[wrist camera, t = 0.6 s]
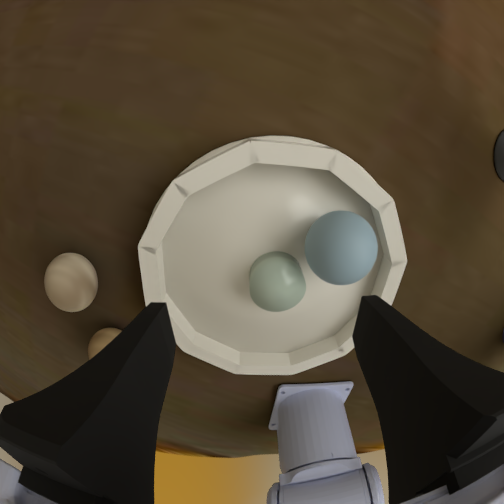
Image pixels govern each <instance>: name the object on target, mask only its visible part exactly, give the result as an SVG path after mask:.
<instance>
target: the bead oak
mask: <svg viewBox="0 0 504 504" xmlns="http://www.w3.org/2000/svg"><path fill="white" fill-rule="evenodd" d="M121 332H122V330H120V329H117V328H104V329H101V330H99V331H98V332H96V333H95V334H94V335H93V336H92V338H91V340H90V342H89V346H88V356H89V359H91V358H93V357H94V356H95V355H96V354H97V353H99V352H100V351H101V350H102V349H103V348H104V347H105V346H106V345H108V344H109V343H110V342H111V341H112V340H113V339H114V338H115V337H116V336H117V335H118V334H119V333H121Z"/></svg>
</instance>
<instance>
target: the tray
mask: <svg viewBox="0 0 504 504" xmlns="http://www.w3.org/2000/svg"><path fill="white" fill-rule="evenodd" d="M338 210H343V211H350V212H353V213H356V214H358V215H360V216H361V217H362V218H364V219H365V220H366V221H367V222H368V223H369V224H370V226H371V227H372V229H373V230H374V233H375V235H376V238H377V244H378V252H377V258H376V261H375V263H374V265H373V267H372V269H371V270H370V272H369V273H368V274H367V275H366V276H365V277H364V278H362V279H361V280H359V281H357V282H355V283H353V284H349V285H334V284H330V283H327V282H325V281H323V280H322V279H320V278H319V277H318V276H317V275H316V274H315V273H314V272H313V271H312V270H311V268H310V266H309V264H308V263H307V260H306V256H305V239H306V236H307V233H308V231H309V229H310V227H311V226H312V224H313V223H314V222H315V221H316V220H317V219H318V218H320V217H321V216H323V215H324V214H326V213H329V212H332V211H338ZM138 254H139V262H140V270H141V278H142V285H143V291H144V298H145V304H146V306H147V305H149V304H150V303H151V302H166V303H167V308H168V312H169V316H170V321H171V325H172V329H173V333H174V337H175V341H176V344H177V345H178V346H179V347H180V348H181V350H182V351H183V352H186V353H188V354H190V355H192V356H194V357H196V358H199V359H201V360H203V361H205V362H208V363H210V364H212V365H215V366H217V367H219V368H222V369H224V370H227V371H229V372H232V373H234V374H235V373H236V374H250V375H293V374H296V373H299V372H302V371H305V370H308V369H310V368H313V367H316V366H319V365H321V364H324V363H327V362H329V361H332V360H334V359H337V358H339V357H342V356H344V355H345V354H347V353H348V352H350V351H351V350H352V349H353V348H354V342H353V338H352V335H353V331H354V327H355V323H356V319H357V315H358V310H359V306H360V302H361V297H362V296H369V295H377V296H379V297H380V298H381V299H383V300H384V301H385V302H387V303H388V304H389V305H392V303H393V300H394V298H395V295H396V292H397V290H398V287H399V284H400V281H401V278H402V275H403V273H404V270H405V267H406V264H407V256H406V251H405V246H404V241H403V236H402V232H401V227H400V223H399V218H398V214H397V210H396V206H395V202H394V200H393V198H392V197H391V196H390V195H389V194H387V193H386V192H385V191H384V190H383V189H382V188H381V187H380V186H379V185H378V184H377V183H376V181H375V180H374V179H373V178H372V177H371V176H370V175H369V174H368V173H367V172H366V171H365V170H364V169H363V168H362V167H361V166H360V165H359V164H357V163H356V162H355V161H353V160H352V159H351V158H349V157H348V156H346V155H344V154H342V153H341V152H339V151H338V150H336V149H334V148H331V147H329V146H326V145H324V144H321V143H318V142H315V141H312V140H309V139H304V138H298V137H293V136H277V135H268V136H259V137H250V138H246V139H242V140H238V141H235V142H231V143H228V144H226V145H224V146H221V147H219V148H217V149H214V150H212V151H210V152H209V153H207V154H205V155H204V156H202V157H200V158H199V159H197V160H196V161H194V162H193V163H192V164H191V165H190V166H188V167H187V168H186V169H185V170H184V171H182V172H181V173H180V174H179V175H178V176H177V177H176V178H175V179H174V180H173V181H172V182H171V184H170V185H169V186H168V188H167V189H166V190H165V192H164V193H163V195H162V196H161V198H160V199H159V201H158V202H157V204H156V206H155V208H154V210H153V213H152V215H151V217H150V220H149V223H148V226H147V228H146V230H145V232H144V234H143V236H142V238H141V240H140V242H139V244H138Z"/></svg>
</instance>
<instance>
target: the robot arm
mask: <svg viewBox="0 0 504 504" xmlns="http://www.w3.org/2000/svg"><path fill="white" fill-rule="evenodd" d="M352 338H353V342H354V347H355V351H356V354H357V358H358V361H359V364H360V366H361V369H362V371H363V374H364V377H365V379H366V382H367V384H368V387H369V389H370V392H371V395H372V397H373V400H374V403H375V406H376V409H377V412H378V416H379V421H380V425H381V430H382V435H383V440H384V446H385V452H386V461H387V469H388V486H389V504H504V373H503V372H500V371H497V370H494V369H492V368H489V367H486V366H484V365H482V364H479V363H477V362H475V361H473V360H471V359H469V358H467V357H465V356H463V355H461V354H459V353H457V352H455V351H454V350H452V349H450V348H449V347H447V346H445V345H444V344H442V343H440V342H439V341H437V340H436V339H434V338H433V337H432V336H430V335H429V334H427V333H426V332H424V331H423V330H422V329H420V328H419V327H418V326H416V325H415V324H414V323H412V322H411V321H410V320H408V319H407V318H406V317H405V316H403V315H402V314H401V313H400V312H398V311H397V310H396V309H394V308H393V307H392V306H391V305H389V304H388V303H387V302H385V301H384V300H383V299H381V298H380V297H379V296H377V295H369V296H362V297H361V302H360V306H359V310H358V315H357V319H356V323H355V327H354V331H353V335H352ZM175 347H176V341H175V337H174V333H173V329H172V325H171V321H170V316H169V312H168V308H167V303H166V302H151V303H150V304H149V305H147V306H146V307H145V308H144V309H143V310H142V311H141V312H140V313H139V314H138V315H137V316H136V318H135V319H134V320H133V321H132V322H131V323H130V324H129V325H128V326H127V327H126V328H125V329H124V330H123V331H122V332H121V333H119V334H118V335H117V336H116V337H115V338H114V339H113V340H112V341H111V342H110V343H109V344H108V345H106V346H105V347H104V348H103V349H102V350H101V351H100V352H99V353H97V354H96V355H95V356H94V357H93V358H91V359H90V360H89V361H88V362H86V363H85V364H84V365H82V366H81V367H80V368H78V369H77V370H75V371H74V372H72V373H71V374H69V375H67V376H66V377H64V378H63V379H61V380H60V381H58V382H56V383H55V384H53V385H51V386H49V387H47V388H46V389H44V390H42V391H40V392H38V393H36V394H33V395H31V396H29V397H27V398H24V399H22V400H19V401H16V402H14V403H11V404H9V405H5V406H4V408H3V410H2V412H1V414H0V447H1V448H2V449H4V450H5V451H6V452H7V453H8V454H9V455H11V456H12V457H13V458H14V459H15V460H17V461H18V462H19V463H20V464H22V465H23V469H22V471H19V470H18V469H16V468H15V467H13V466H12V465H10V464H8V463H6V462H5V461H3V460H1V459H0V504H154V464H155V451H156V440H157V431H158V423H159V418H160V413H161V409H162V405H163V402H164V398H165V394H166V390H167V386H168V383H169V379H170V375H171V371H172V367H173V361H174V354H175ZM352 387H353V382H351V381H347V382H334V383H316V384H283V385H280V386H279V387H278V390H277V395H276V399H275V403H274V407H273V411H272V414H271V418H270V422H269V426H268V427H269V429H270V430H277V437H278V449H279V461H280V469H281V471H282V474H279V481H280V482H278V483H274V484H273V485H272V487H271V488H270V489H269V491H268V494H267V504H385V503H384V495H383V489H382V485H381V481H380V478H379V475H378V472H377V470H376V468H375V467H374V466H372V465H370V464H369V463H366V464H363V465H362V464H361V460H360V457H357V455H356V450H355V446H354V442H353V439H352V435H351V431H350V427H349V423H348V419H347V415H346V412H345V408H344V402H345V400H346V399H347V397H348V395H349V393H350V391H351V389H352Z"/></svg>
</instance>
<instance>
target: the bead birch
mask: <svg viewBox="0 0 504 504" xmlns="http://www.w3.org/2000/svg"><path fill="white" fill-rule="evenodd" d="M44 285H45V290H46V293H47V295H48V297H49V299H50V301H51V302H52V303H53V304H54V305H55V306H56V307H58V308H59V309H61V310H64V311H67V312H77V311H80V310H83V309H85V308H86V307H87V306H89V305H90V304H91V302H92V301H93V300H94V298H95V296H96V293H97V289H98V277H97V273H96V271H95V268H94V267H93V265H92V264H91V262H90V261H89V260H88V259H86V258H85V257H84V256H82V255H80V254H77V253H64V254H61V255H59V256H57V257H56V258H54V259H53V260H52V261H51V263H50V264H49V266H48V267H47V270H46V273H45V278H44Z"/></svg>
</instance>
